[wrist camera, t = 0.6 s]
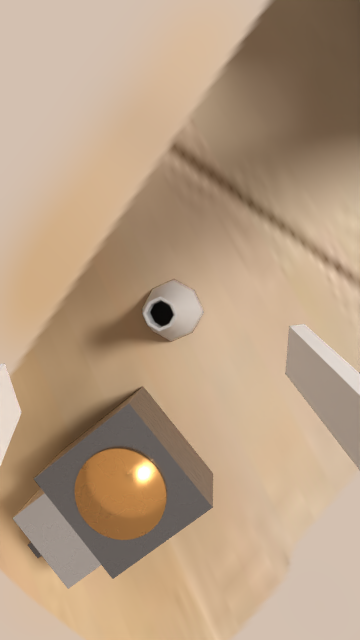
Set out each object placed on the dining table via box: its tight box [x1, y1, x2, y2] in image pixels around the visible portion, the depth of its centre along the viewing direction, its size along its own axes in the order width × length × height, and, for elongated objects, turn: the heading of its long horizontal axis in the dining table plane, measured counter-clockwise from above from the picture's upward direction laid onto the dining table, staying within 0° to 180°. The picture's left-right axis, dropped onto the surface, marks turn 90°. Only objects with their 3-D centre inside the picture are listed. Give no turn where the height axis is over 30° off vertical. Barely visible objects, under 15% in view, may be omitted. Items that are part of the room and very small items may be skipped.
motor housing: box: [13, 387, 213, 589], centre depth 41 cm, size 22×14×7 cm, turn 129°
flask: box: [142, 279, 204, 342], centre depth 37 cm, size 7×7×10 cm
